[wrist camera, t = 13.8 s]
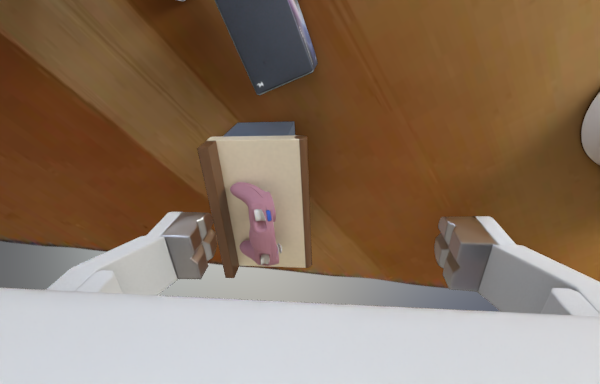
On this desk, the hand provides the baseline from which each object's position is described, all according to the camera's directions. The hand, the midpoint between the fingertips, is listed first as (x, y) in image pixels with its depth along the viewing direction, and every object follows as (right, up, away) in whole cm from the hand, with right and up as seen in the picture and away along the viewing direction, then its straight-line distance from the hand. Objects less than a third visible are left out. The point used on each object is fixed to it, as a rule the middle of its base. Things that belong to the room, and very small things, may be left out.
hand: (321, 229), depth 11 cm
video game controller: (-6, -1, +26) cm, 27 cm away
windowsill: (-5, +3, +34) cm, 35 cm away
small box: (-3, +21, +25) cm, 33 cm away
